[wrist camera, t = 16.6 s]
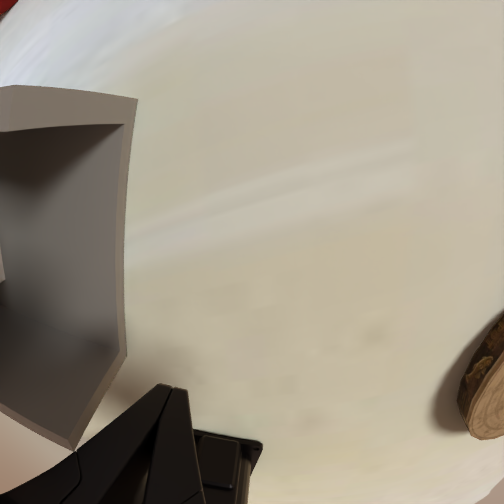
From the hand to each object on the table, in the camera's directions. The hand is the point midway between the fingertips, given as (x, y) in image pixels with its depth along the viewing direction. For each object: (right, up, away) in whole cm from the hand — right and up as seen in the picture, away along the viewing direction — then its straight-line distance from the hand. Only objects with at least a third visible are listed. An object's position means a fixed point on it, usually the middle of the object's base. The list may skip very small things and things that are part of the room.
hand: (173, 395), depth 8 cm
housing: (-13, +6, +7) cm, 16 cm away
